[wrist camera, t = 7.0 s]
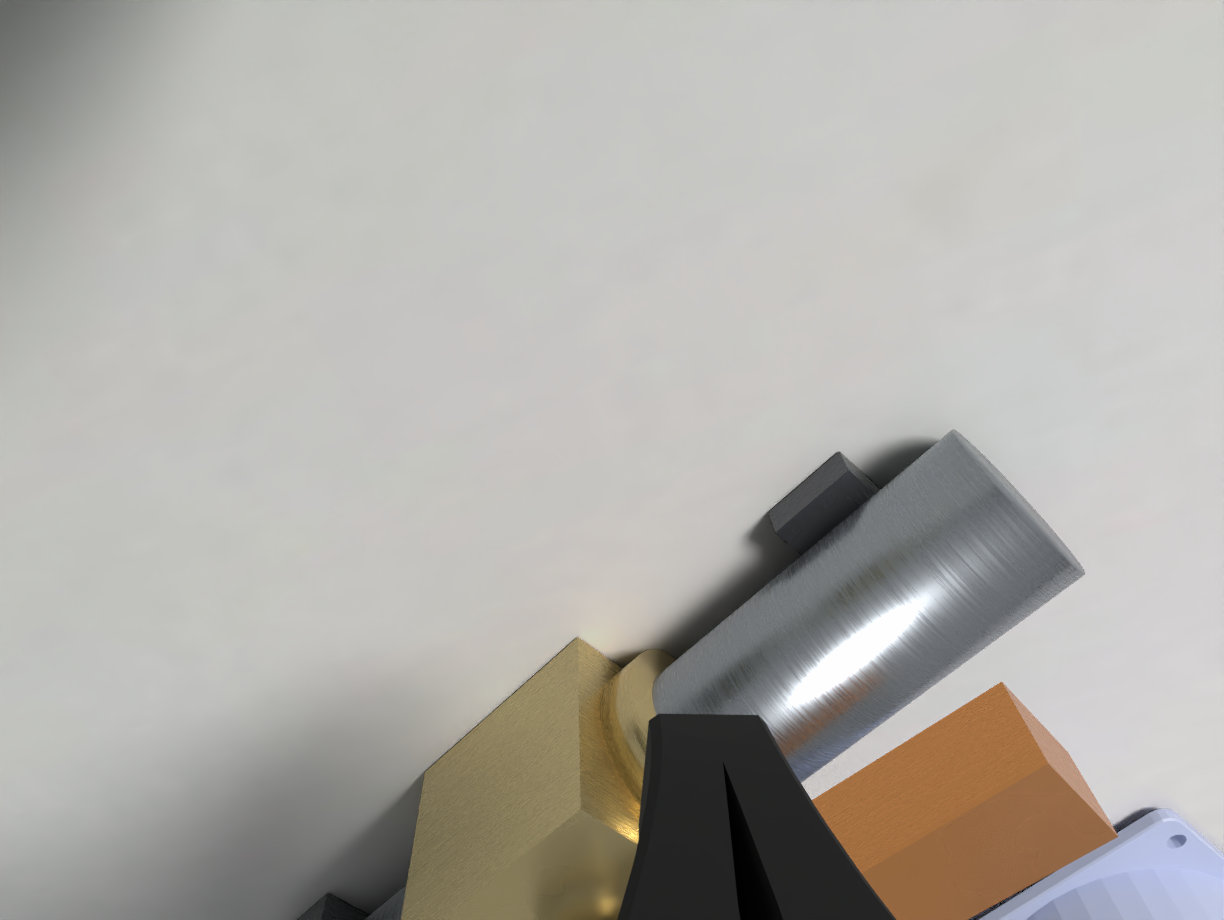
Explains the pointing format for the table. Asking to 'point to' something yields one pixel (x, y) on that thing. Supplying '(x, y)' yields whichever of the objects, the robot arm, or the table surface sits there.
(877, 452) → the table surface
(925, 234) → the table surface
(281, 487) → the table surface
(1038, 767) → the valve lever
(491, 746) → the valve pipe
